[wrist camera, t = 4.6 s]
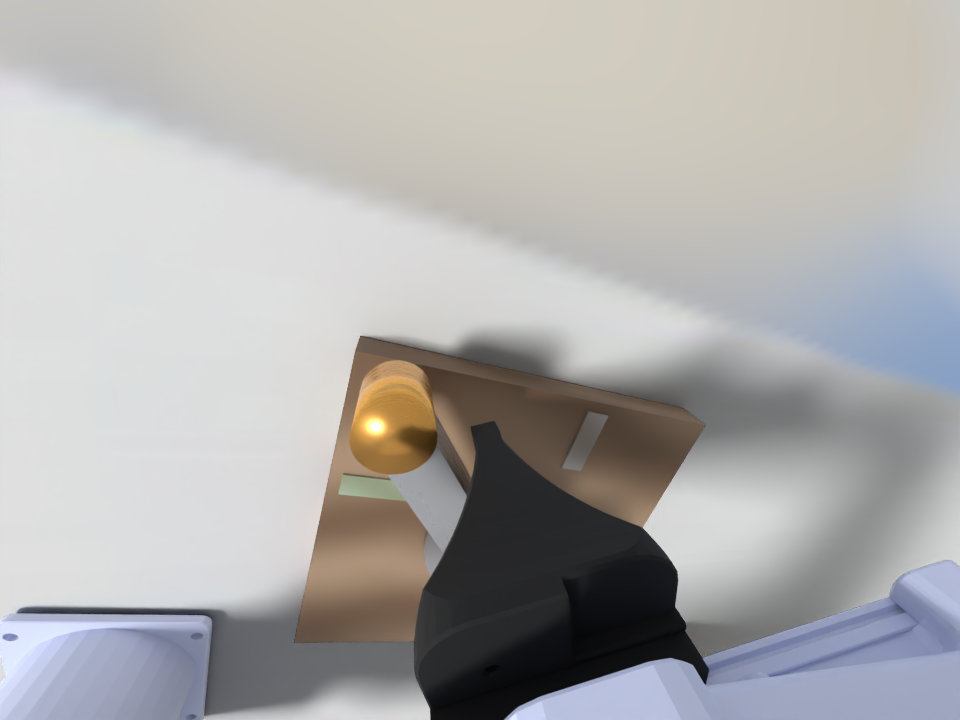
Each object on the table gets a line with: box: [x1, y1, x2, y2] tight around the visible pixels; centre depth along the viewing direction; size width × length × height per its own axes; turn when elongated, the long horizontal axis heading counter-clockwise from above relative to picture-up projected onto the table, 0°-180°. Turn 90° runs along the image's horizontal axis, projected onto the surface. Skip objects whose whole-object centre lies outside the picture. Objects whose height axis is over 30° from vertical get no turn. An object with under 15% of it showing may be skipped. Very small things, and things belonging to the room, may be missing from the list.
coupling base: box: [294, 336, 705, 643], centre depth 18 cm, size 16×16×2 cm
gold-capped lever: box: [349, 360, 472, 554], centre depth 13 cm, size 14×5×5 cm, turn 22°
